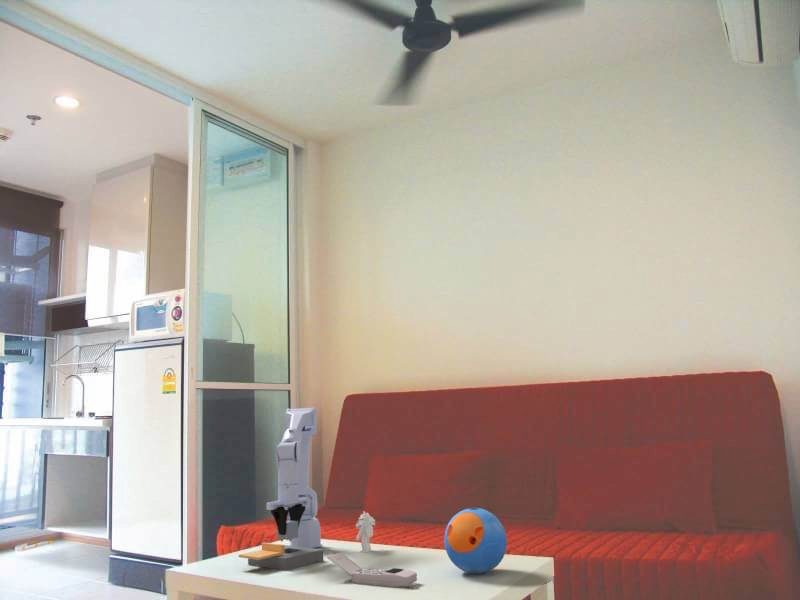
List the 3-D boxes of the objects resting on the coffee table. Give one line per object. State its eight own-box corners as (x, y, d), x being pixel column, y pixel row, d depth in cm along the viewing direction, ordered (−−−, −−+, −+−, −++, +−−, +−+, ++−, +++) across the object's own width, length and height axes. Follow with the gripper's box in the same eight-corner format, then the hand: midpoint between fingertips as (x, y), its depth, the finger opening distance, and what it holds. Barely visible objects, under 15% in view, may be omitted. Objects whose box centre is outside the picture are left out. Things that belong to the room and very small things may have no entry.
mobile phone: (339, 551, 163) (424, 557, 151) (339, 576, 162) (426, 584, 150) (324, 556, 158) (412, 562, 146) (325, 582, 157) (413, 590, 145)
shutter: (264, 551, 181) (264, 542, 182) (284, 554, 176) (284, 544, 177) (238, 557, 174) (238, 547, 175) (258, 559, 169) (258, 550, 170)
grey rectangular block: (287, 539, 186) (287, 520, 187) (298, 540, 183) (297, 521, 185) (276, 541, 183) (276, 522, 184) (287, 542, 180) (287, 522, 181)
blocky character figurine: (363, 553, 189) (362, 511, 192) (352, 553, 191) (351, 511, 193) (378, 548, 197) (377, 507, 200) (367, 547, 199) (366, 507, 201)
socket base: (285, 555, 191) (285, 545, 192) (323, 560, 182) (323, 549, 182) (247, 564, 181) (248, 553, 181) (285, 570, 171) (285, 558, 172)
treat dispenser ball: (518, 569, 161) (513, 505, 164) (492, 582, 148) (488, 513, 151) (463, 564, 169) (460, 504, 172) (434, 577, 156) (431, 511, 159)
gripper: (278, 486, 178) (278, 538, 175) (315, 482, 189) (316, 530, 187) (261, 486, 183) (261, 536, 180) (299, 482, 194) (299, 529, 191)
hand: (288, 533), depth 183 cm, fingers closed on grey rectangular block, 4 cm apart
